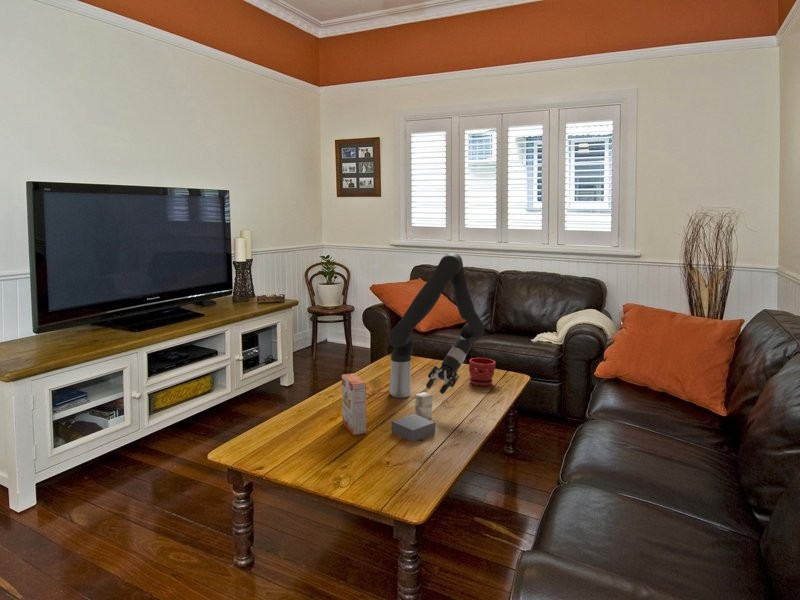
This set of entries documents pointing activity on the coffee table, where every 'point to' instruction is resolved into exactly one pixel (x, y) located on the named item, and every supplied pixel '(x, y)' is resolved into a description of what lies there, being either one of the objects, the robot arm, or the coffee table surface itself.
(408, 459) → the coffee table surface
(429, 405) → the taupe block
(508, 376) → the coffee table surface
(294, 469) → the coffee table surface
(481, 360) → the plant pot
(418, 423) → the flat gray square
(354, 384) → the cracker box
